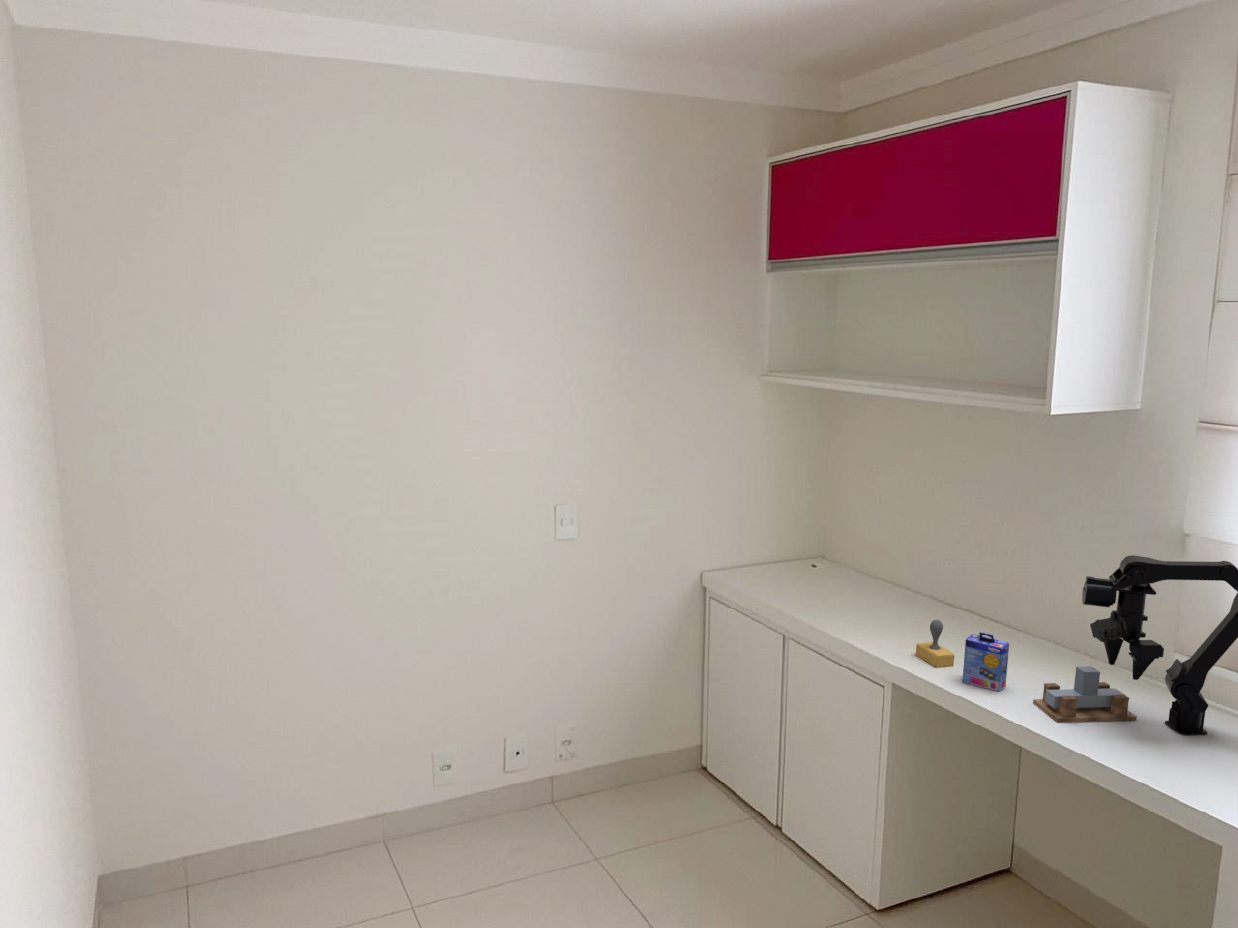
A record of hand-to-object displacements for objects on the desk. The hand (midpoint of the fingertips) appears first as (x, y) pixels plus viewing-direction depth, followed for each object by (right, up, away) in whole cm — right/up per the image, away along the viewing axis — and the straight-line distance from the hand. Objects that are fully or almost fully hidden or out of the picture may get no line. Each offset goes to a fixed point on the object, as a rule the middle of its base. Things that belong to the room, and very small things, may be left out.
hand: (1123, 671), depth 222 cm
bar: (-7, -9, +6) cm, 12 cm away
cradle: (-7, -11, +6) cm, 14 cm away
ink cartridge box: (-25, -8, +22) cm, 34 cm away
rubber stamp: (-32, -6, +38) cm, 50 cm away
